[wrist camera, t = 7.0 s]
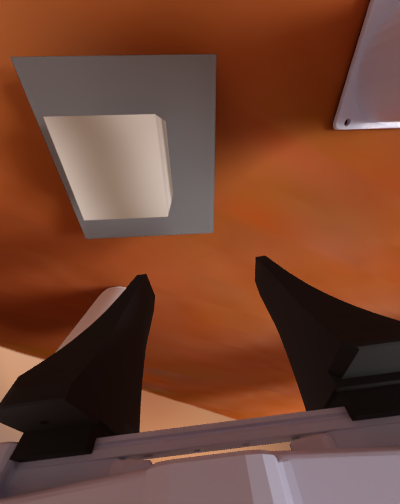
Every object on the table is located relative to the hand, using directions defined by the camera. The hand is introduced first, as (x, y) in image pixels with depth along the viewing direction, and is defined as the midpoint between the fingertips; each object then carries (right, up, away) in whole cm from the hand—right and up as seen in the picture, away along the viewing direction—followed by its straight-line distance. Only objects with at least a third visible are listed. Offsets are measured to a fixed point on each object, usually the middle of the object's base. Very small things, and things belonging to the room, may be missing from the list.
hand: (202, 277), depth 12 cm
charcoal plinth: (-5, +10, +4) cm, 12 cm away
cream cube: (-5, +9, +2) cm, 10 cm away
